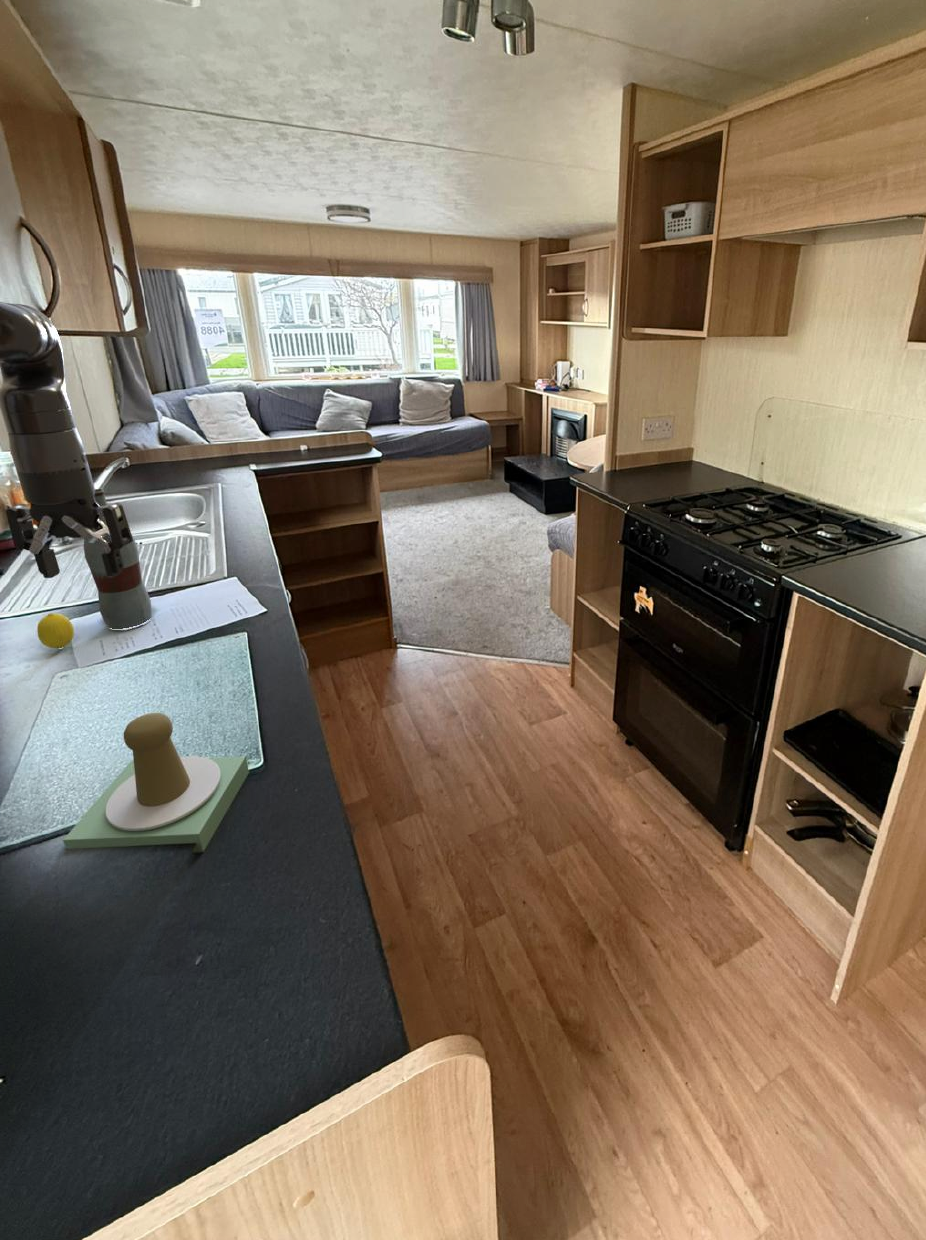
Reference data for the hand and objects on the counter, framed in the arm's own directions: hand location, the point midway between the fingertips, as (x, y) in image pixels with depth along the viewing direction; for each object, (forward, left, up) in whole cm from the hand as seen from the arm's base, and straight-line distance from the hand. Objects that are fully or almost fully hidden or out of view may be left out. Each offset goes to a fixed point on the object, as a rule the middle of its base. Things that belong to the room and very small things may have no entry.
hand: (84, 575), depth 84 cm
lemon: (-30, +29, -28) cm, 50 cm away
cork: (+14, -16, -24) cm, 33 cm away
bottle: (-23, +40, -28) cm, 54 cm away
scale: (+14, -16, -28) cm, 35 cm away
